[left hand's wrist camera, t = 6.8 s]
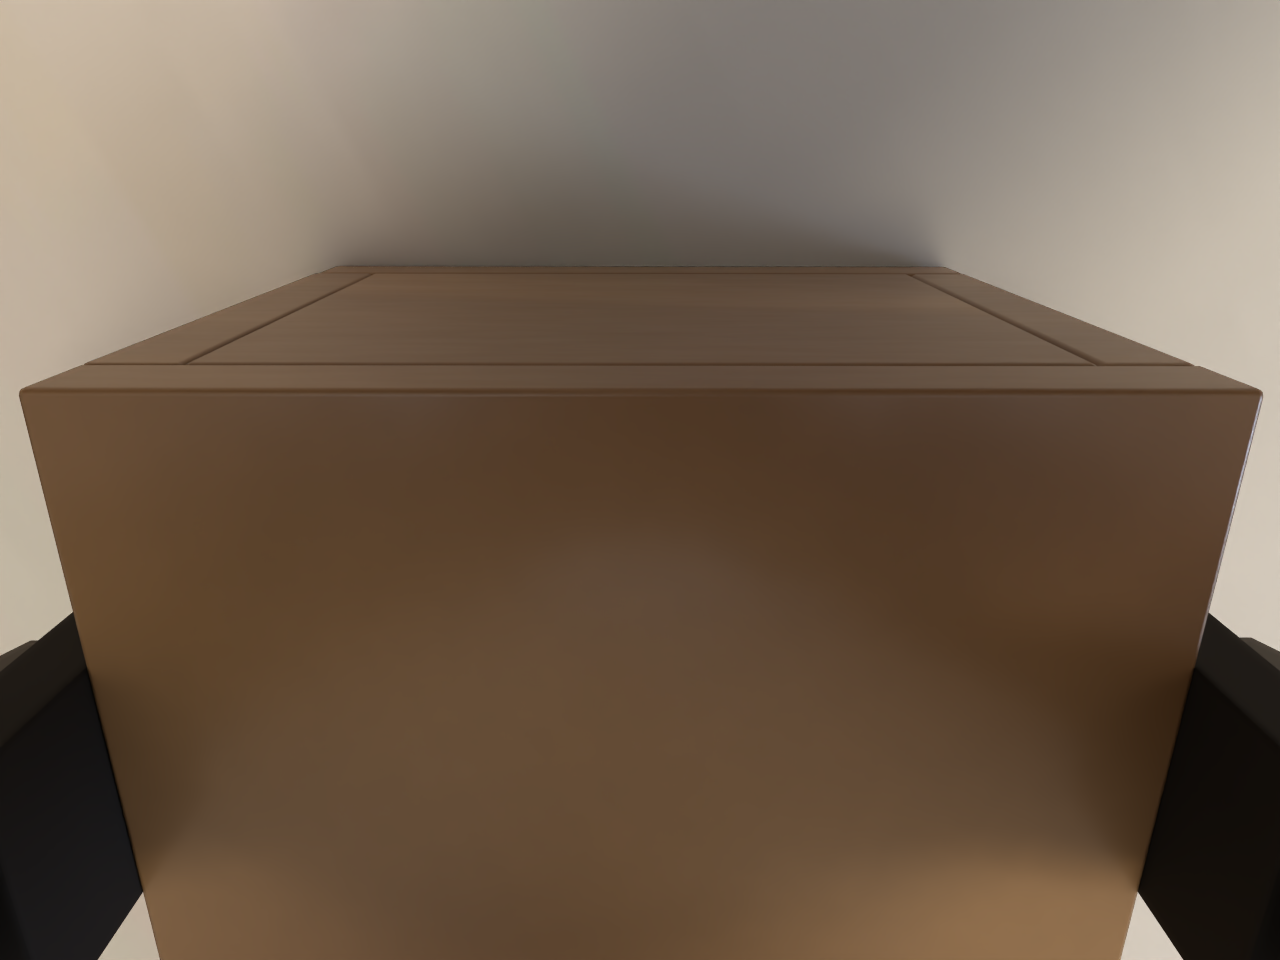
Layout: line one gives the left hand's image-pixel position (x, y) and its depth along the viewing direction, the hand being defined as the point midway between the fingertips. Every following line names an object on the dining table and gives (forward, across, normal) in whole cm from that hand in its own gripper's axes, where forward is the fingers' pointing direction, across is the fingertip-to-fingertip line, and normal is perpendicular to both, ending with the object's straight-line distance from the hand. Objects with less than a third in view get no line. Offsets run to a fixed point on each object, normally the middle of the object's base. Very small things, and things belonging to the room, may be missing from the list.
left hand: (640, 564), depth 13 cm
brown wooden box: (+3, 0, -5) cm, 6 cm away
